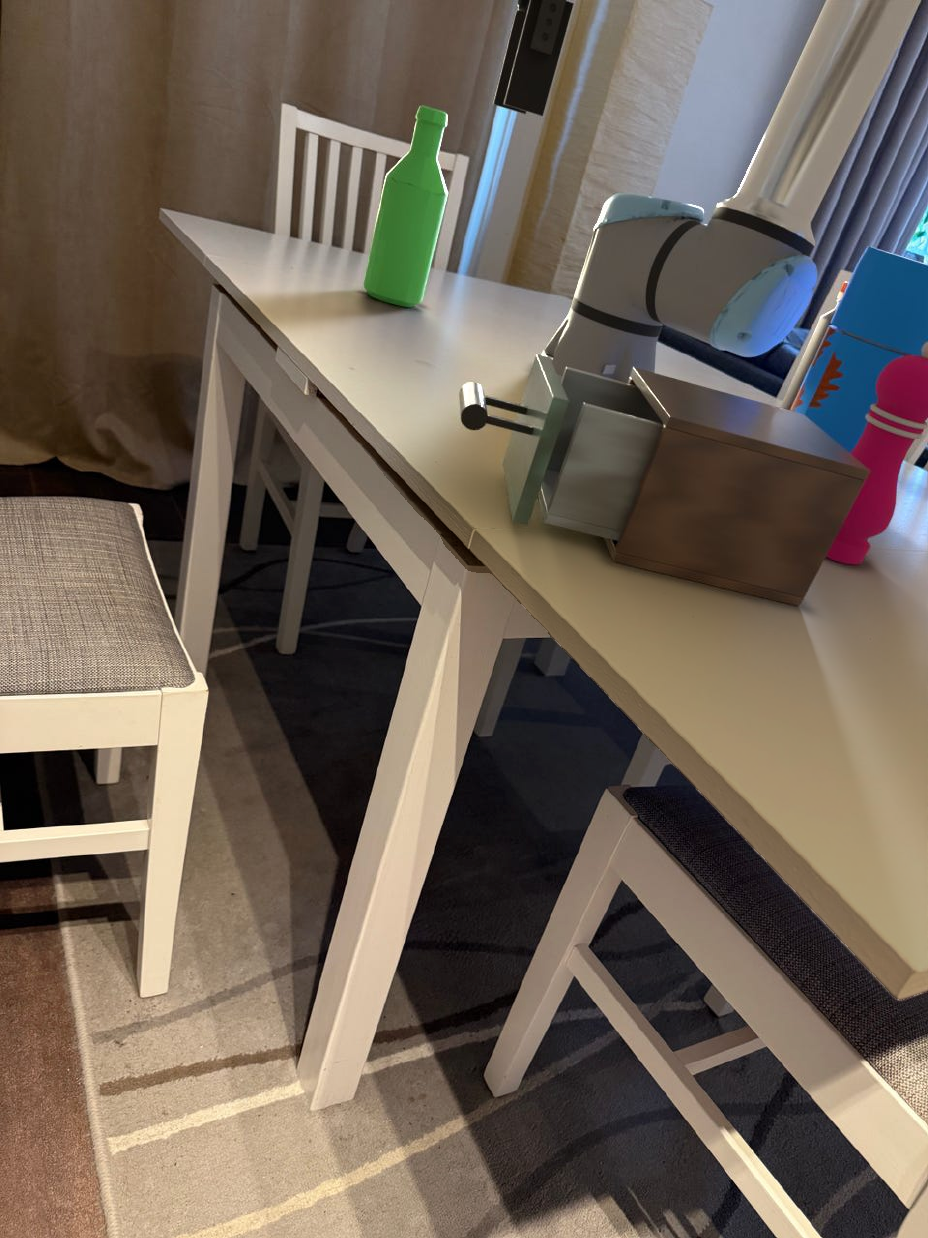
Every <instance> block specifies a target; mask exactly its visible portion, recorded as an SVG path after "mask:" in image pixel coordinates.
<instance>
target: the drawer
mask: <svg viewBox="0 0 928 1238" xmlns="http://www.w3.org/2000/svg"><path fill="white" fill-rule="evenodd" d="M530 369H531V370H530V373H529V376H528V379H527V383H526V386H525V388H524V393H523V396H522V399H521V402H520V403H516V402H512V401H510V400H509V401H508V400H505V399H501V398H497V397H494V396H489V395H486V394H485V391H484V388H483V387H482V385H481V384H479V383H478V382H473V381H470V382H466V383H465V384H463V385H462V386H461V387H460V389H459V392H458V398H459V399H458V400H459V410H460V421H461V424H462V425H463V427H464V428H466V429H467V430H470V431H480V430H481V429H483V428H484V427H485V426H486V425H490V426H494V427H497V428H501V429H506V430H509V431H511V435H510V437H509V441H508V444H507V448H506V450H505V454H504V457H503V461H502V471H503V475H504V482H505V487H506V492H507V498H508V504H509V509H510V515H511V520H512V523H513V524H517V525H522V526H526V527H528V526H529V523H530V521H531V518H532V515H533V511H534V509H535V506H536V503H537V500H538V501H539V507H540V510H541V514H542V517H543V521H544V524H546V525H551V526H555V527H559V528H563V529H568V530H572V531H576V532H580V533H584V534H589V535H593V536H596V537H601V538H603V539H605V538H608V539H612V540H616V541H618V540H619V537H620V535H621V532H622V530H623V527H624V524H625V522H626V519H627V517H628V514H629V512H630V509H631V507H632V504H633V501H634V499H635V496H636V494H637V491H638V489H639V486H640V484H641V481H642V478H643V476H644V473H645V471H646V468H647V466H648V463H649V461H650V458H651V455H652V453H653V450H654V448H655V445H656V443H657V440H658V438H659V435H660V432H661V430H662V427H663V425H664V423H663V422H662V421H661V419H660V418H659V416H658V415H657V414H656V412H655V411H654V409H653V408H652V407H651V405H650V404H649V402H648V401H647V399H646V398H645V397H644V395H643V394H642V392H641V391H640V390H639V388H638V387H637V386H636V385H632V384H629V383H625V382H621V381H618V380H614V379H610V378H607V377H603V376H599V375H596V374H592V373H588V372H585V371H581V370H577V369H574V368H570V367H565V370H564V373H563V376H562V379H561V382H560V380H559V377H558V375H557V373H556V371H555V368H554V366H553V364H552V362H551V359H550V358H549V357H546V356H543V355H542V354H539V353H536V354H535V357H534V360H533V363H532V366H531V368H530ZM487 406H489V407H493V408H497V409H500V410H504V411H508V412H512V413H515V414H517V415H516V417H515V420H512V419H508V418H504V417H500V416H497V415H493V414H490V413H489V414H488V408H487Z"/></svg>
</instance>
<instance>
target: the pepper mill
mask: <svg viewBox="0 0 928 1238" xmlns="http://www.w3.org/2000/svg"><path fill="white" fill-rule="evenodd" d="M921 354H922V356H918V355H908V356H902V357H899V358H896V359H894V360H893V361H891V362H890V363H889V364H888V365H887V366H886V367H885V368H884V369H883V370H882V372H881V373H880V375H879V377H878V379H877V382H876V393H877V397H878V402H877V403H874V404H871V406H870V408H871V410H870V411H869V413H868V414H866V416H865V418H866V419H867V420H868V423H867V425H866V427H865V430H864V432H863V435H862V436H861V438H860V440H859V441H858V443H857V445H856V446H855V448H854V449H853V450H852V451H851V452H850V454H851V455H853V456H854V457H855V458H856V459H857V460H858V461H860V462H861V463H862V464H863V465H864V466H866V467H867V468H868V469H869V470H870V473H869V475H868V477H867V479H866V480H865V482H864V484H863V486H862V488H861V490H860V492H859V494H858V496H857V498H856V500H855V501H854V503H853V505H852V507H851V509H850V511H849V513H848V515H847V517H846V519H845V521H844V523H843V524H842V526H841V528H840V530H839V532H838V534H837V536H836V538H835V540H834V542H833V544H832V546H831V547H830V549H829V551H828V553H827V555H826V557H825V559H829V560H832V561H835V562H838V563H842V564H845V565H853V566H854V565H860V564H862V563H863V562H864V559H865V558H866V556H867V554H868V553H869V551H870V548H871V544H870V541H868V540H869V539H871V538H873V537H875V536H877V535H880V534H882V533H884V532H885V531H886V530H887V529H888V527H889V526H890V524H891V521H892V519H893V517H894V515H895V510H896V506H897V495H898V483H899V476H900V472H901V468H902V464H903V462H904V460H905V458H906V455H907V453H908V451H909V450H910V448H911V447H912V445H913V443H914V442H915V440H919V439H921V438H923V436H924V435H923V433H924V431H925V429H927V428H928V422H926V421H927V420H928V342H926V343H925V344H924V345H923V347H922V350H921Z"/></svg>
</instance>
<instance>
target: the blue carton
mask: <svg viewBox="0 0 928 1238" xmlns="http://www.w3.org/2000/svg"><path fill="white" fill-rule="evenodd" d="M848 282H849V283H848V285H847V287H846V289H845V291H844V294H843V296H842V298H841V300H840V302H839V305H838V307H837V309H836V311H835V313H834V315H833V318H832V320H831V322H830V323H831V324H832V325H829V326H828V328H827V331H826V333H825V335H824V337H823V339H822V342H821V344H820V346H819V348H818V350H817V352H816V355H815V357H814V359H813V361H812V363H811V366H810V368H809V370H808V372H807V374H806V376H805V379H804V381H803V383H802V385H801V387H800V389H799V392H798V394H797V396H796V398H795V400H794V403H793V405H792V407H791V409H790V411H794V412H797V413H801V414H804V415H805V416H806V417H808V418H809V419H810V420H811V421H812V422H813V423H815V424H816V425H817V426H818V427H819V428H821V429H822V430H823V431H824V432H825V433H827V434H828V435H829V436H830V437H831V438H832V439H834V440H835V441H836V442H837V443H838V444H840V445H841V446H842V447H843V448H844V449H845V450H847V451H848V452H849V453H850V452H851V451H852V450H853V449H854V448H855V446H856V445H857V443H858V441H859V440H860V438H861V436H862V435H863V432H864V430H865V427H866V425H867V423H868V420H867V419H866V418H865V416H866V414H868V413H869V411H870V410H871V408H870V406H871V404H874V403H877V402H878V397H877V393H876V382H877V379H878V377H879V375H880V373H881V372H882V370H883V369H884V368H885V367H886V366H887V365H888V364H889V363H890V362H891V361H893V360H894V359H896V358H899V357H902V356H908V355H918V356H922V354H921V350H922V347H923V345H924V344H925V343H926V342H928V264H927V263H924V262H921V261H918V260H915V259H912V258H908V257H905V256H902V255H899V254H896V253H892V252H889V251H886V250H883V249H879V248H876V247H873V246H869V245H867V246H866V248H865V250H864V251H863V253H862V255H861V257H860V258H859V260H858V262H857V263H856V266H855V267H854V269H853V272H852V274H851V277H850V279H849V281H848Z"/></svg>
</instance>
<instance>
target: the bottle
mask: <svg viewBox="0 0 928 1238" xmlns="http://www.w3.org/2000/svg"><path fill="white" fill-rule="evenodd" d="M415 119H416V121H415V125H414V131H413V134H412V139H411V145H410V149H409V150H408V152H406V154H404V155H403V157H402V158H401V159H400V160H399V161H398V162H397V163H396V164H394V166H393V167H392V168H391V169H390V170H389V171H388V172H387V173H386V174H385V177H384V182H383V187H382V190H381V196H380V200H379V205H378V211H377V215H376V221H375V224H374V230H373V234H372V239H371V243H370V244H371V245H370V250H369V254H368V255H369V256H368V260H367V265H366V269H365V274H364V279H363V287H364V289H365V291H366V293H367V294H368V295H369V296H371V297H372V298H374V299H376V300H379V301H381V302H384V303H387V304H391V305H396V306H401V307H405V308H412V307H415V306H416V305H418V304H420V303H422V302H423V300H424V295H425V291H426V287H427V283H428V279H429V275H430V270H431V267H432V263H433V259H434V254H435V251H436V247H437V246H436V245H437V242H438V237H439V234H440V229H441V226H442V221H443V216H444V212H445V209H446V204H447V200H448V195H449V191H448V189H447V185H446V183H445V178H444V176H443V173H442V169H441V166H440V163H439V160H438V157H439V154H440V153H439V152H440V148H441V144H442V140H443V135H444V131H445V128H446V127H447V126H448V114H447V113H446V111H443V110H440V109H436V108H435V107H434V108H433V107H430V106H426V105H420V106H419V107H418V109H417V112H416V114H415Z"/></svg>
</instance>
